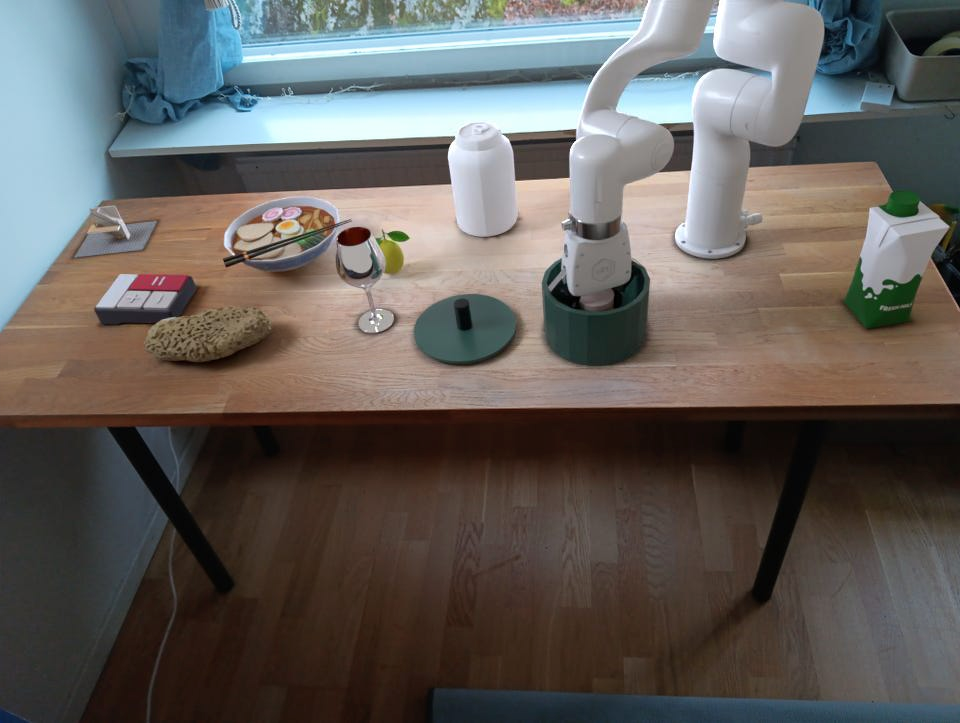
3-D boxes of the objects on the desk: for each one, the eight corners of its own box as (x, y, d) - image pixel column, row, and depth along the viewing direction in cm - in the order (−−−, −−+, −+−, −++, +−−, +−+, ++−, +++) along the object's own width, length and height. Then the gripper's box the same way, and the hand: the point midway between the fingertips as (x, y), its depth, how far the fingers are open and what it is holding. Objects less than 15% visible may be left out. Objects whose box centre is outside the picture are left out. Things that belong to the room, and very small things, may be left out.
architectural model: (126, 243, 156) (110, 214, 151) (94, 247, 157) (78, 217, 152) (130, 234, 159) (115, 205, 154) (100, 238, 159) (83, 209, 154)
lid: (422, 300, 132) (416, 272, 127) (518, 297, 129) (516, 269, 125) (407, 367, 119) (401, 339, 115) (514, 365, 117) (511, 337, 112)
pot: (545, 301, 128) (542, 251, 121) (642, 298, 126) (645, 247, 118) (543, 366, 116) (540, 316, 109) (650, 364, 114) (655, 313, 107)
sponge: (152, 375, 126) (245, 368, 118) (131, 337, 122) (225, 326, 115) (197, 336, 136) (284, 328, 129) (178, 300, 133) (267, 289, 125)
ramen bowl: (334, 213, 157) (325, 179, 151) (368, 265, 141) (359, 230, 136) (220, 250, 151) (206, 216, 145) (243, 309, 135) (228, 274, 129)
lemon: (415, 268, 139) (407, 223, 132) (399, 285, 136) (389, 240, 129) (387, 260, 142) (377, 216, 135) (370, 277, 138) (359, 233, 131)
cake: (603, 303, 121) (604, 279, 118) (619, 324, 117) (620, 300, 114) (570, 312, 120) (570, 288, 117) (585, 334, 116) (585, 310, 113)
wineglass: (362, 342, 125) (338, 257, 112) (346, 317, 130) (321, 233, 118) (406, 325, 127) (386, 239, 115) (388, 301, 132) (368, 216, 120)
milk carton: (885, 290, 121) (923, 184, 107) (917, 324, 114) (963, 215, 101) (835, 299, 120) (867, 194, 107) (864, 334, 114) (903, 226, 100)
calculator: (168, 308, 131) (90, 306, 133) (176, 326, 134) (100, 324, 136) (191, 272, 139) (118, 270, 141) (198, 289, 142) (126, 288, 144)
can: (469, 202, 154) (458, 112, 141) (525, 207, 151) (519, 116, 137) (448, 234, 146) (434, 143, 132) (507, 241, 142) (498, 147, 129)
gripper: (550, 248, 102) (553, 343, 114) (661, 219, 105) (653, 314, 117) (531, 222, 107) (536, 315, 120) (638, 194, 110) (632, 288, 122)
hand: (594, 314), depth 118 cm, fingers closed on cake, 6 cm apart
